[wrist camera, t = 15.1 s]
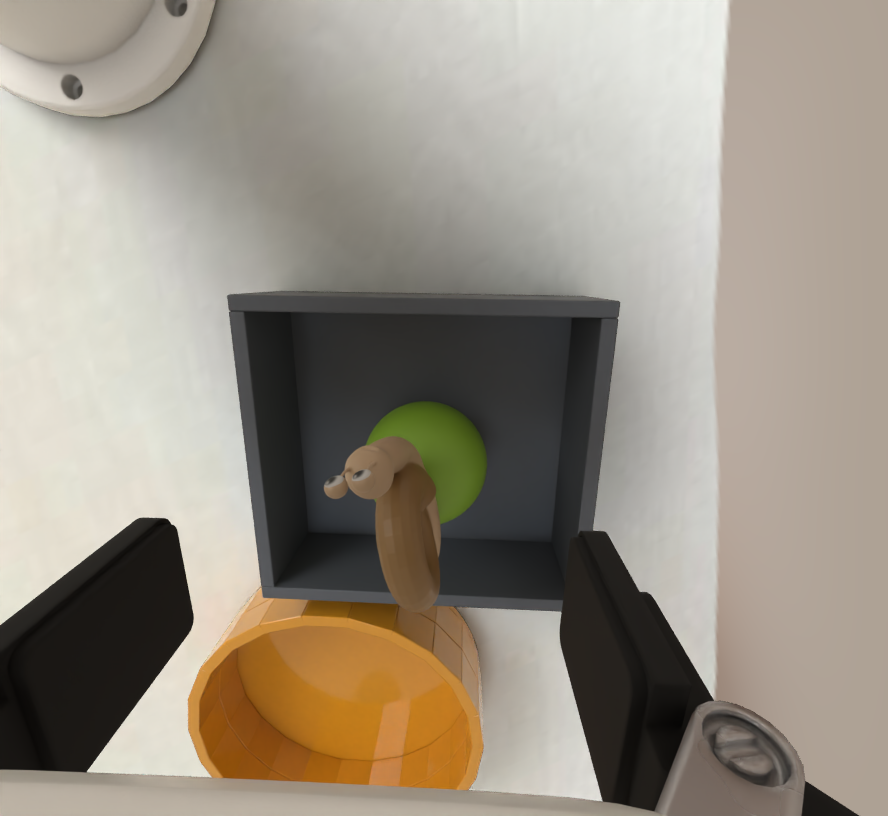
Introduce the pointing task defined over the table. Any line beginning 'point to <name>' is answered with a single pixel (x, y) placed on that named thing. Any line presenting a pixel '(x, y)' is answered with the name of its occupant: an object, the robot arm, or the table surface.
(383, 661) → the bowl
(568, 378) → the bin
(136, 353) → the table surface
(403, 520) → the snail figurine
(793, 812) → the robot arm
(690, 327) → the table surface
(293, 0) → the table surface
